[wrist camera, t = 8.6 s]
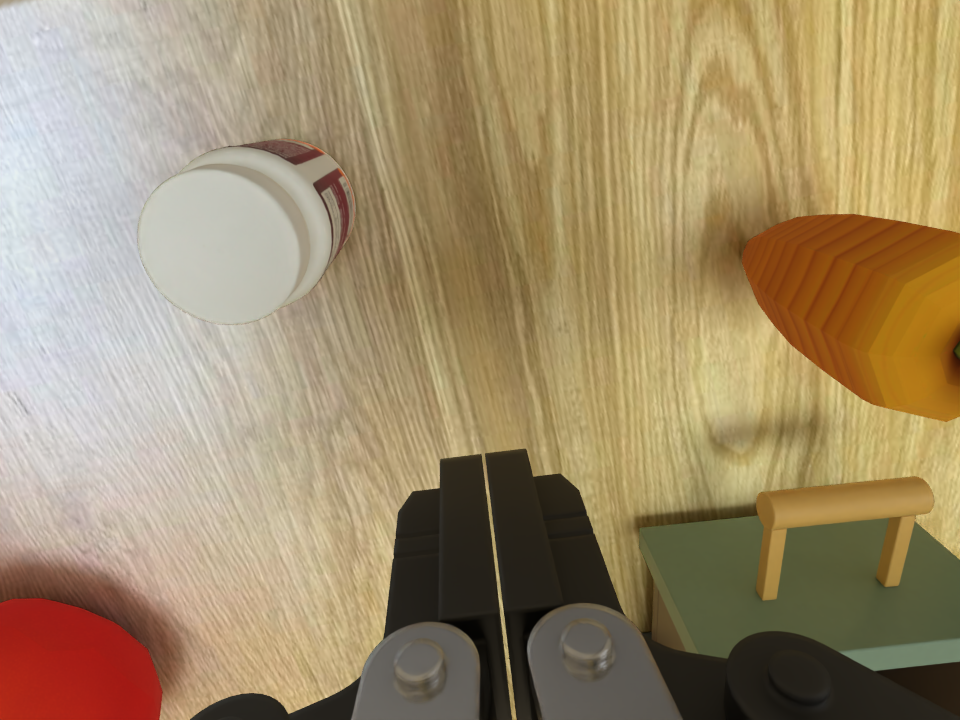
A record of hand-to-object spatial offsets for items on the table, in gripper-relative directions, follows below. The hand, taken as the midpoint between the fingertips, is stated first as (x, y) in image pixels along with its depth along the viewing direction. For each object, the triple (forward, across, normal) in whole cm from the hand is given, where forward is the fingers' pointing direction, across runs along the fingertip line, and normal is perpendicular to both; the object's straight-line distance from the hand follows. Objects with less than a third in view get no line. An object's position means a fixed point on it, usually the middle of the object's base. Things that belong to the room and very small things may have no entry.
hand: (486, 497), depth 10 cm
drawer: (+14, -13, +17) cm, 26 cm away
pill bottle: (+15, +6, -4) cm, 17 cm away
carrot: (+15, -12, 0) cm, 19 cm away
